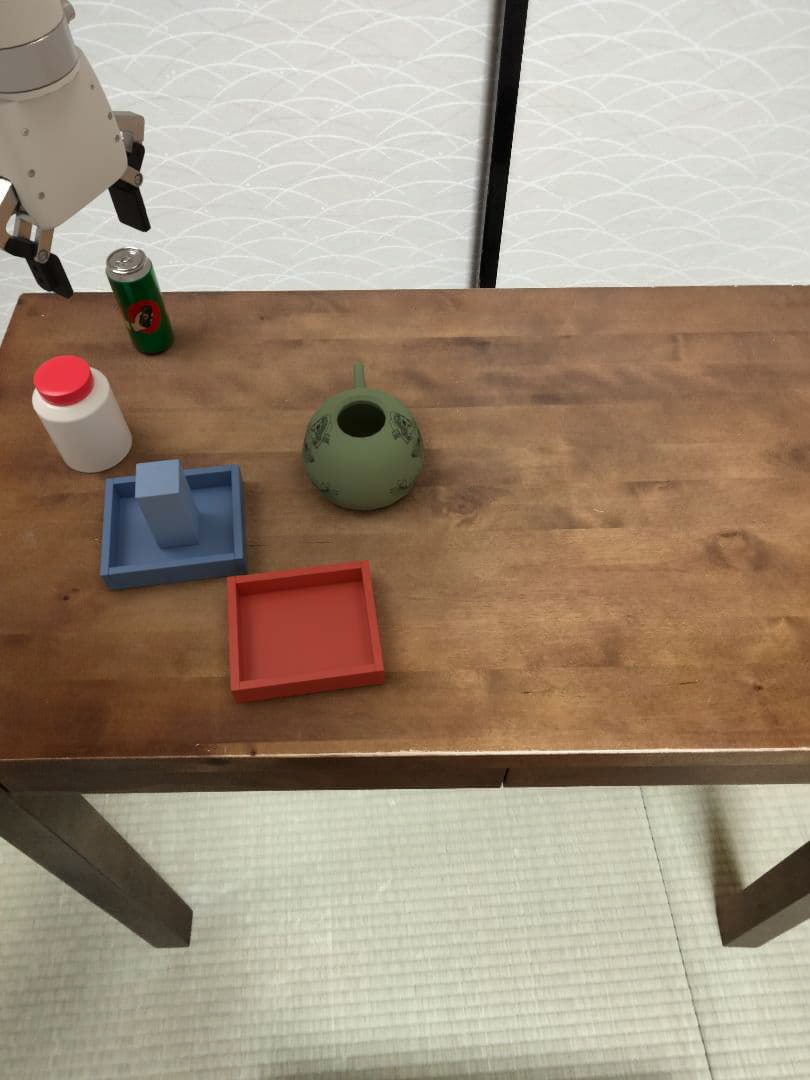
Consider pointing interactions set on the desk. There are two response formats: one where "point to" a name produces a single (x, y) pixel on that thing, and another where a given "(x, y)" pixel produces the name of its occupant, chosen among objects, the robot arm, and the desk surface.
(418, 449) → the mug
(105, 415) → the pill bottle
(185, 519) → the blue block
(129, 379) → the desk surface
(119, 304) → the soda can
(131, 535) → the blue tray
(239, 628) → the red tray
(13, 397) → the desk surface
